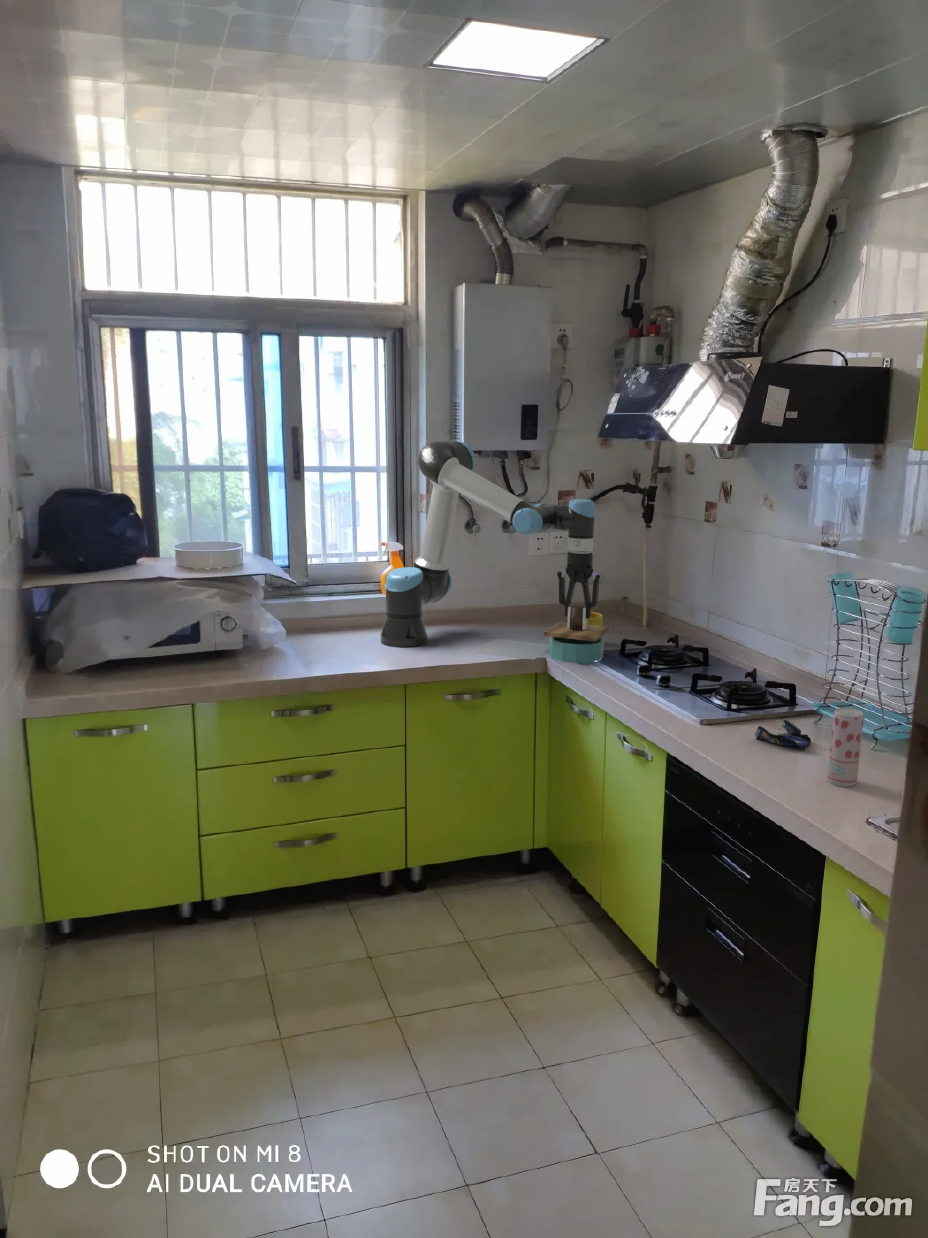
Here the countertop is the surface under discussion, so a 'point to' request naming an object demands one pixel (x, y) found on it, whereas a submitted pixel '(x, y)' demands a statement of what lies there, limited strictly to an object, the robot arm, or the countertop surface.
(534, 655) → the mat
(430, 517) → the robot arm
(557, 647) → the bowl
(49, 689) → the countertop surface
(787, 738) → the snack package
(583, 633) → the lid
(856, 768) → the beverage can
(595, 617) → the plant pot
